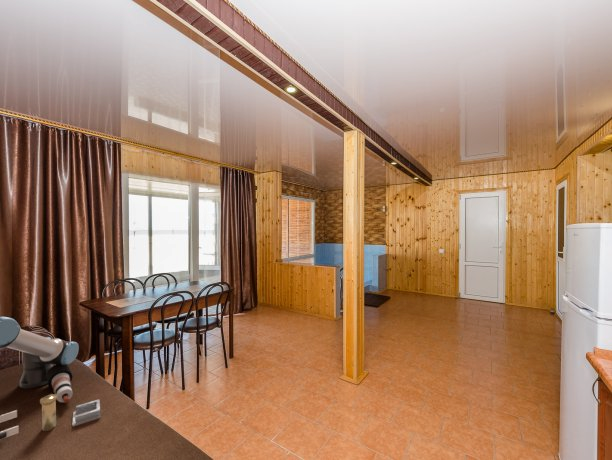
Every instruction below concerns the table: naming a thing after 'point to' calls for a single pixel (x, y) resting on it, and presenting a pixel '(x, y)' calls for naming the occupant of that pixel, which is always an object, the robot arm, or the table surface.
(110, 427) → the table surface
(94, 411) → the keeper bracket
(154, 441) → the table surface
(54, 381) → the cable
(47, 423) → the end pin
